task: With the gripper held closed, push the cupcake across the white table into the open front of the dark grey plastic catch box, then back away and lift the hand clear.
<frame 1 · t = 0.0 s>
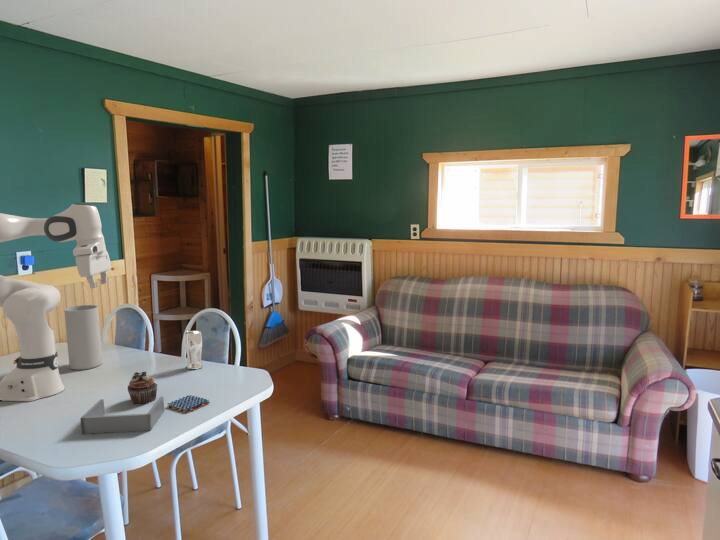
hand: (99, 285, 192), 39 cm above the table, tool pointing down, fingers open, 8 cm apart
catch box: (125, 422, 167), on the table
woven mat: (189, 407, 180), on the table
cylinder vase: (86, 366, 226), on the table
cupcake: (143, 400, 186), on the table
beer glass: (194, 368, 221), on the table
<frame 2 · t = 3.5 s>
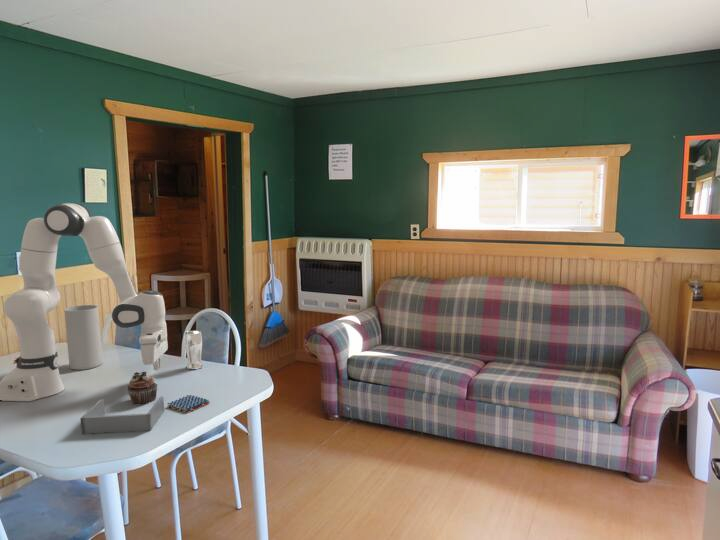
hand: (157, 368, 202), 6 cm above the table, tool pointing down, fingers closed
nothing on the table moved.
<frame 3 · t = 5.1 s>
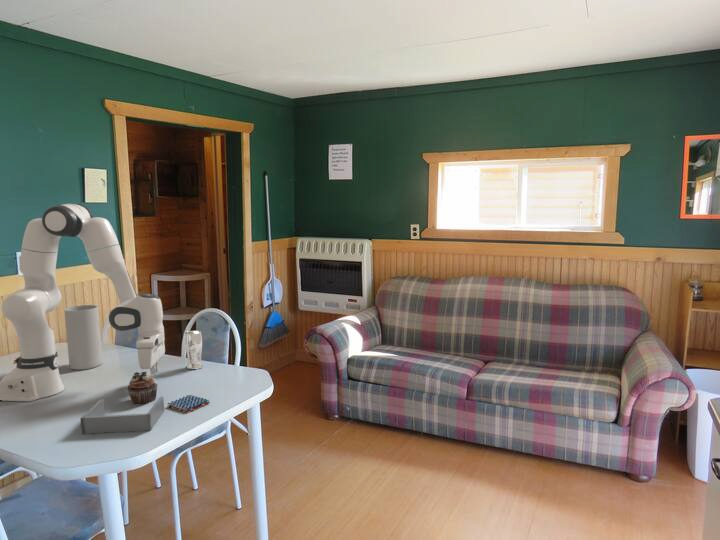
hand: (154, 373, 199), 5 cm above the table, tool pointing down, fingers closed
nothing on the table moved.
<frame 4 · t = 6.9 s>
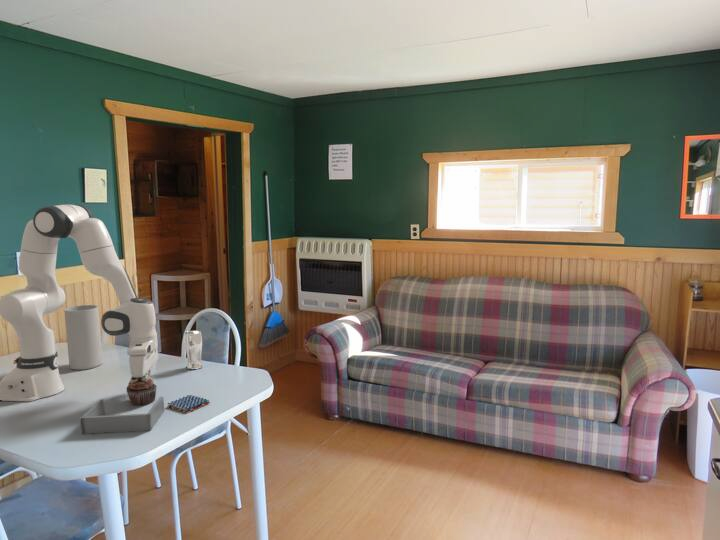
hand: (146, 381, 189), 5 cm above the table, tool pointing down, fingers closed
cupcake: (142, 402, 184), on the table, touching gripper
everything else where it was.
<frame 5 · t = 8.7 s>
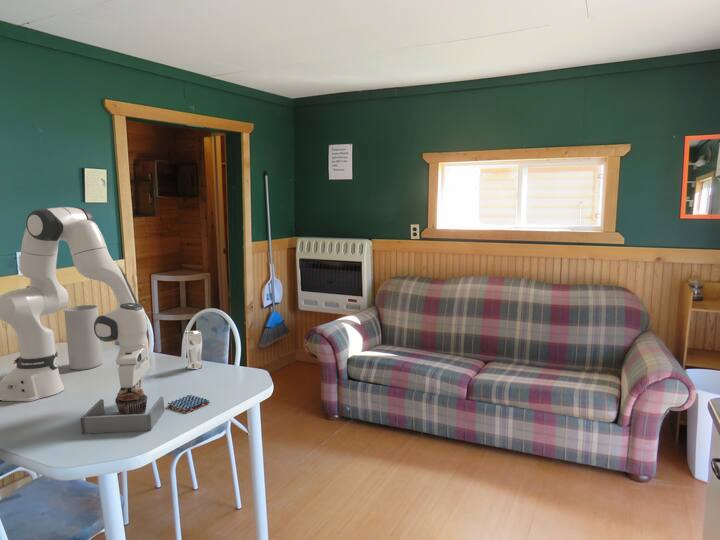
hand: (137, 391, 179), 5 cm above the table, tool pointing down, fingers closed
cupcake: (132, 413, 174), on the table, touching gripper
everything else where it was.
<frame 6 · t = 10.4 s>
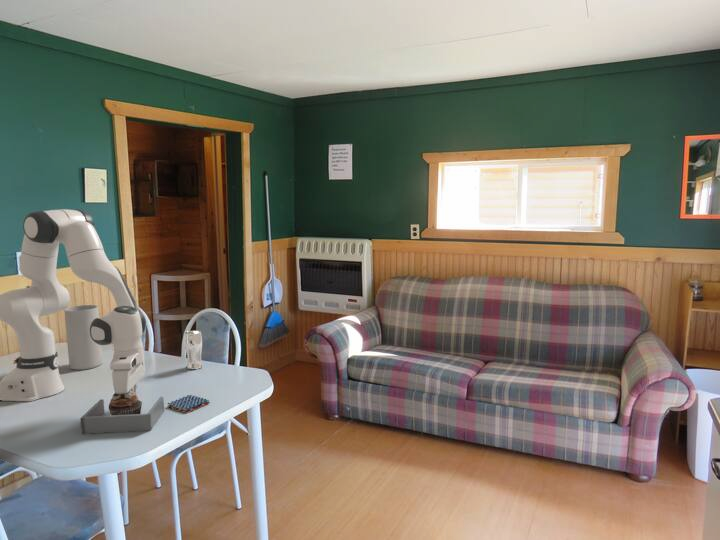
hand: (132, 397, 174), 5 cm above the table, tool pointing down, fingers closed
cupcake: (126, 420, 169), on the table, touching gripper
everything else where it was.
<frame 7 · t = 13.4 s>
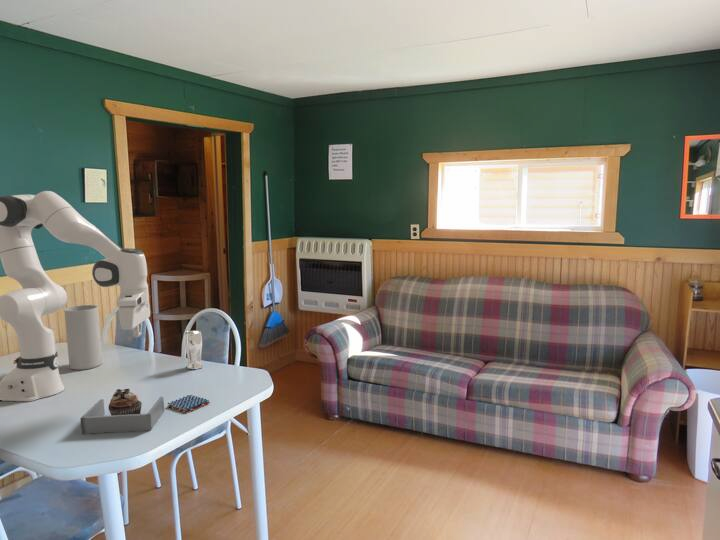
hand: (137, 336, 182), 23 cm above the table, tool pointing down, fingers closed
cupcake: (126, 420, 169), on the table
everything else where it was.
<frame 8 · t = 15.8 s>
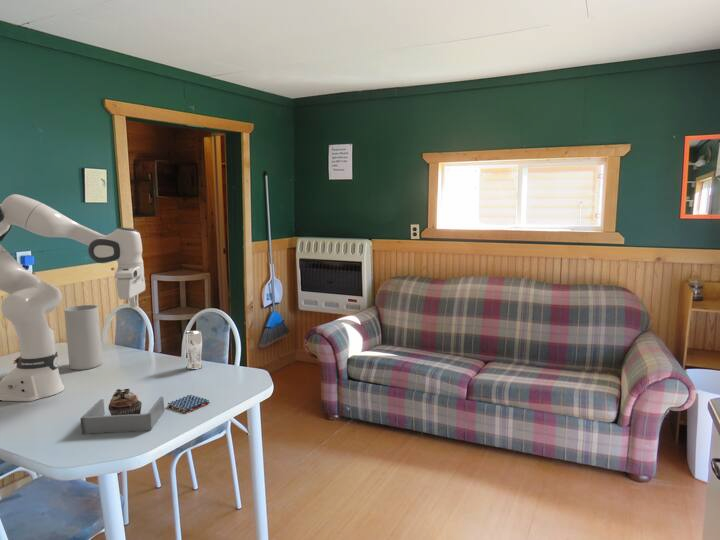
hand: (133, 306, 202), 29 cm above the table, tool pointing down, fingers closed
nothing on the table moved.
at the end: cupcake inside the target area on the catch box (3.1 cm from its centre), point 0.0 cm above the catch box's base; cupcake moved 16.7 cm from its start; cupcake tilted 0° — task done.
